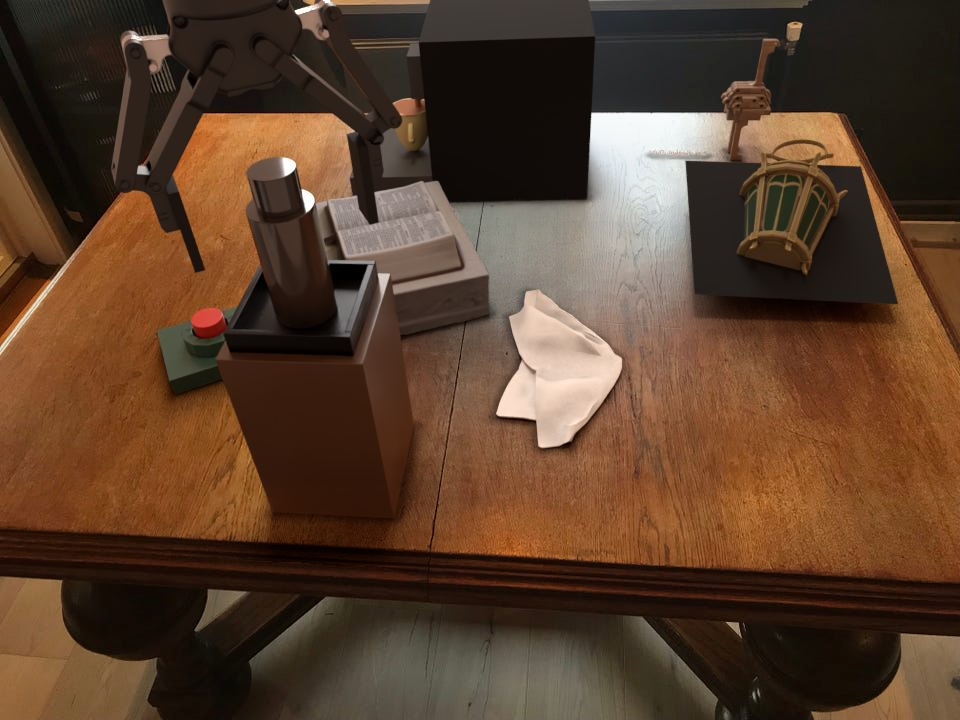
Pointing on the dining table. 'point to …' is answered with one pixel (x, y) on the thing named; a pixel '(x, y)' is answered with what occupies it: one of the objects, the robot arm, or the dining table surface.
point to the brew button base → (191, 355)
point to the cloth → (557, 371)
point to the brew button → (208, 323)
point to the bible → (412, 253)
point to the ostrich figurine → (744, 103)
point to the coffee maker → (496, 102)
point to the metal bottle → (290, 244)
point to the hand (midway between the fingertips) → (286, 238)
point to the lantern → (785, 231)
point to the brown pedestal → (323, 397)
